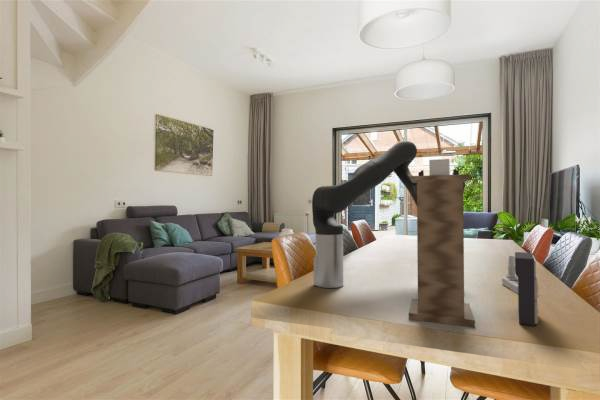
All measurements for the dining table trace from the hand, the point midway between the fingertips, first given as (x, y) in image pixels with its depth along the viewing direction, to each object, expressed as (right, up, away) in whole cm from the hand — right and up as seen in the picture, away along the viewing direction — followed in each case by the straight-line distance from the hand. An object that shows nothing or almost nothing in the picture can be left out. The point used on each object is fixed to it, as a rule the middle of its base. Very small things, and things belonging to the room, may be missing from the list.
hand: (438, 172), depth 96 cm
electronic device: (+30, -37, +12) cm, 49 cm away
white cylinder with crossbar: (-2, -2, -5) cm, 6 cm away
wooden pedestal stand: (-4, -36, -11) cm, 38 cm away
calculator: (+15, -36, -15) cm, 42 cm away
